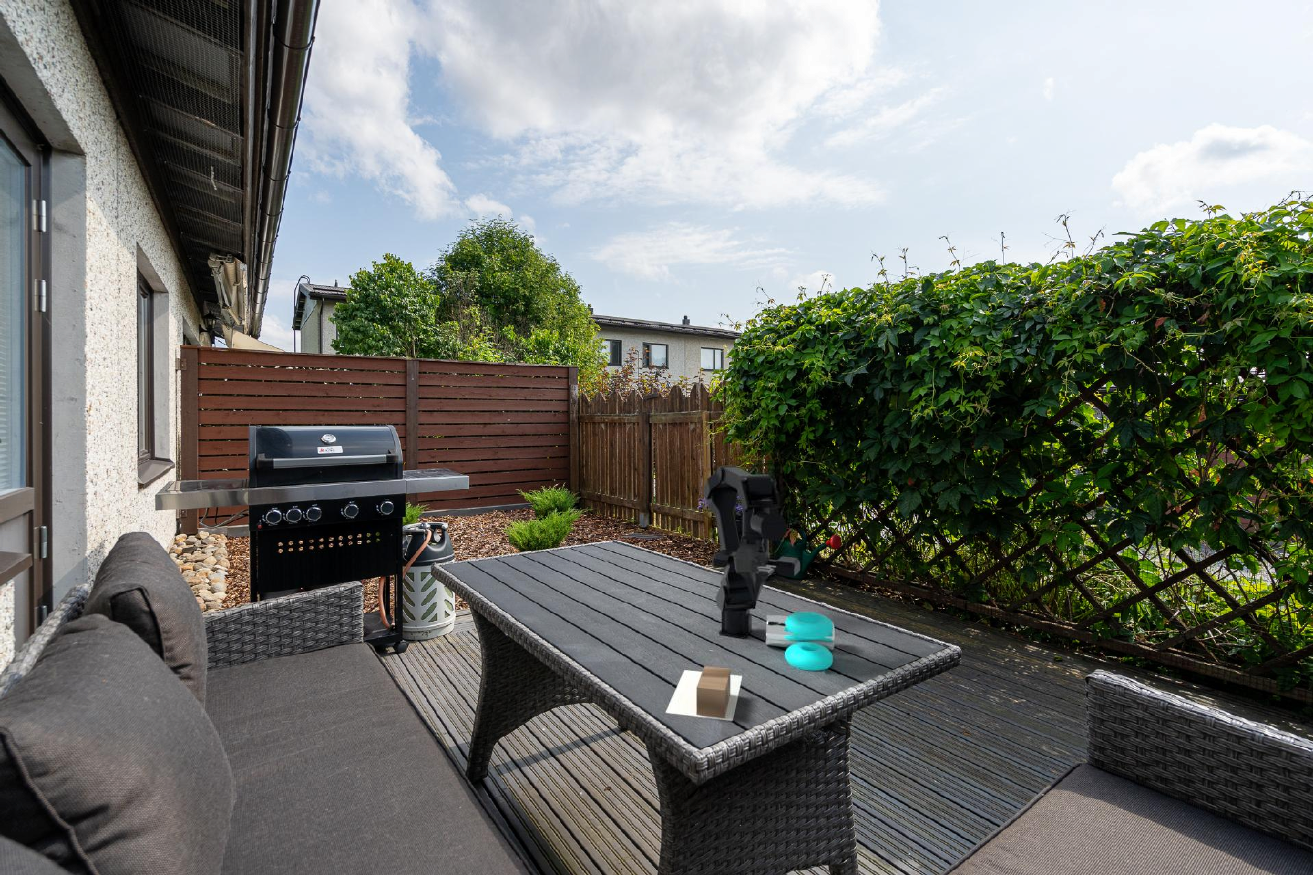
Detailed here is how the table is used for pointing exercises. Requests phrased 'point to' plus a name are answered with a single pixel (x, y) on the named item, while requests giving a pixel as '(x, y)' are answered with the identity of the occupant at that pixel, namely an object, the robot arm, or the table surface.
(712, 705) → the walnut block
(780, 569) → the robot arm
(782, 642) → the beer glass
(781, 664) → the table surface
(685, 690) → the white mat
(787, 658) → the donuts
